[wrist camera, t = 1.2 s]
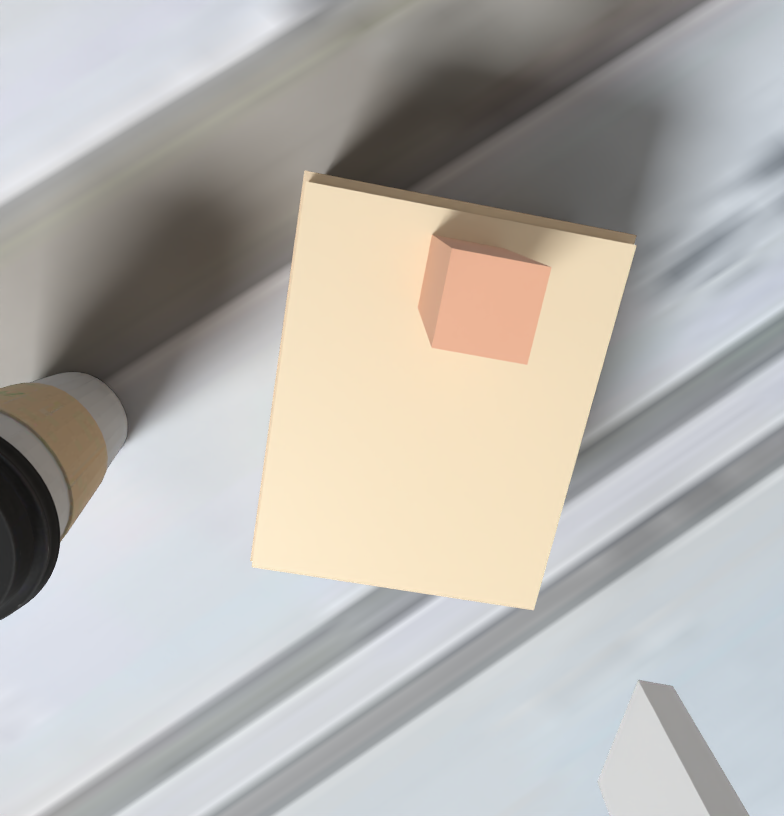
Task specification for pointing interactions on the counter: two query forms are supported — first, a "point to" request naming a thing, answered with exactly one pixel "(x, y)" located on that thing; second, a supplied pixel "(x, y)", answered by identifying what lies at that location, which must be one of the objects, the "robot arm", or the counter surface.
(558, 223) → the carton
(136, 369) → the counter surface
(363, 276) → the lid flap
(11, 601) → the coffee cup
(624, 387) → the counter surface
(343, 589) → the counter surface
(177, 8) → the counter surface
